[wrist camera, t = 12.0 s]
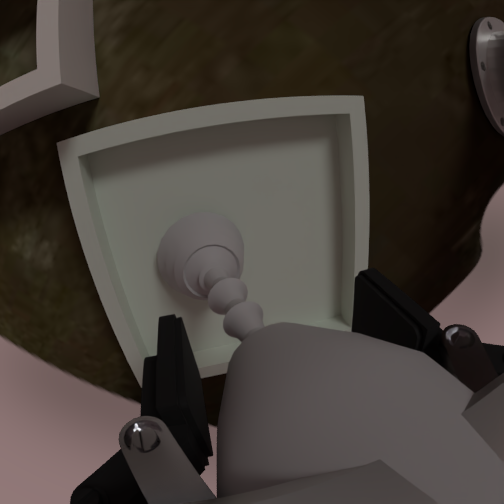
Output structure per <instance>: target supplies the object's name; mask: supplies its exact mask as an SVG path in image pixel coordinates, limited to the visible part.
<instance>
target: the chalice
mask: <svg viewBox="0 0 504 504" xmlns="http://www.w3.org/2000/svg"><path fill="white" fill-rule="evenodd" d="M157 261H158V268H159V271H160V273H161V276H162V278H163V279H164V281H165V282H166V283H167V284H168V285H169V286H170V287H171V288H172V289H174V290H176V291H178V292H180V293H181V294H185V295H187V296H189V297H192V298H193V299H198V300H208V305H209V307H210V309H211V310H212V311H213V312H215V313H217V314H220V315H225V317H224V320H223V329H224V332H225V333H226V334H227V335H228V336H231V337H233V338H237V339H238V340H239V341H241V342H242V343H241V344H240V345H239V346H238V347H237V349H236V350H235V351H234V352H233V355H232V357H231V359H230V361H229V364H228V369H227V375H226V380H225V386H224V391H223V397H222V402H221V408H220V413H219V418H218V426H217V498H220V497H226V496H231V495H236V494H241V493H245V492H250V491H254V490H259V489H263V488H267V487H271V486H275V485H279V484H282V483H286V482H289V481H293V480H296V479H299V478H303V477H308V476H314V475H319V474H325V473H330V472H335V471H340V470H345V469H349V468H354V467H358V466H362V465H366V464H369V463H371V462H374V461H377V460H379V459H381V460H382V461H383V462H384V463H386V464H387V465H388V466H390V467H391V468H392V469H393V470H395V471H396V472H397V473H399V474H400V475H401V476H403V477H404V478H405V479H407V480H408V481H409V482H411V483H412V484H413V485H415V486H416V487H417V488H419V489H420V490H421V491H423V492H424V493H426V494H427V495H428V496H430V497H431V498H433V499H434V500H435V501H436V502H438V503H439V504H504V463H503V462H502V461H501V459H500V458H499V457H498V456H497V455H496V454H495V452H494V451H493V450H492V449H491V448H490V447H489V445H488V444H487V443H486V442H485V441H484V440H483V439H482V437H481V436H480V435H479V434H478V433H477V432H476V431H475V429H474V428H473V427H472V426H471V425H470V424H469V423H468V422H467V420H466V419H465V418H464V417H463V416H462V415H461V413H462V412H463V411H465V408H466V406H467V404H468V402H469V401H470V399H471V397H472V395H473V394H474V392H473V391H472V390H470V389H469V388H468V387H467V386H465V385H464V384H463V383H462V382H460V381H459V380H458V379H457V378H455V377H454V376H453V375H452V374H450V373H449V372H448V371H447V370H445V369H444V368H443V367H441V366H440V365H439V364H438V363H436V362H435V361H434V360H433V359H431V358H430V357H429V356H427V355H426V354H425V353H423V352H420V351H417V350H413V349H410V348H406V347H403V346H400V345H396V344H393V343H389V342H386V341H383V340H379V339H376V338H373V337H369V336H366V335H363V334H360V333H354V332H347V331H341V330H334V329H328V328H321V327H315V326H309V325H303V324H297V323H288V322H280V323H275V324H271V325H267V326H264V324H263V321H262V320H263V310H262V308H261V307H260V305H259V304H257V303H255V302H250V301H246V299H247V294H248V290H247V286H246V285H245V283H244V282H243V281H241V280H240V277H241V275H242V272H243V264H244V243H243V239H242V236H241V233H240V232H239V230H238V229H237V227H236V226H235V224H234V223H233V222H231V221H230V220H228V219H227V218H226V217H224V216H223V215H219V214H215V213H212V212H198V213H193V214H190V215H188V216H185V217H182V218H180V219H179V220H178V221H177V222H175V223H174V224H173V225H172V226H170V227H169V229H168V230H167V231H166V233H165V234H164V236H163V237H162V239H161V241H160V245H159V248H158V252H157Z"/></svg>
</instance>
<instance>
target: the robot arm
mask: <svg viewBox="0 0 504 504" xmlns="http://www.w3.org/2000/svg"><path fill="white" fill-rule="evenodd" d="M469 49H470V63H471V70H472V75H473V80H474V84H475V87H476V91H477V94H478V97H479V100H480V103H481V105H482V108H483V110H484V112H485V114H486V116H487V118H488V119H489V121H490V123H491V124H492V126H493V127H494V128H495V129H496V131H497V132H498V133H500V134H501V135H502V136H504V23H503V22H502V21H500V20H499V19H497V18H494V17H486V18H480V19H479V20H477V21H476V22H475V24H474V26H473V28H472V31H471V34H470V44H469ZM439 327H440V323H439V322H438V321H437V320H435V319H434V318H433V317H432V316H431V315H430V314H429V313H427V312H426V311H425V310H424V309H423V308H422V307H420V306H419V305H418V304H417V303H416V302H415V301H413V300H412V299H411V298H410V297H409V296H408V295H406V294H405V293H404V292H403V291H402V290H400V289H399V288H398V287H397V286H396V285H394V284H393V283H392V282H391V281H390V280H388V279H387V278H386V277H385V276H383V275H382V274H381V273H380V272H379V271H377V270H376V269H375V268H370V269H366V270H362V271H360V272H359V273H358V276H356V277H355V282H354V301H353V317H352V330H351V332H354V333H360V334H363V335H366V336H369V337H373V338H376V339H379V340H383V341H386V342H389V343H393V344H396V345H400V346H403V347H406V348H410V349H413V350H417V351H420V352H423V353H425V354H426V355H427V356H429V357H430V358H431V359H433V360H434V361H435V362H436V363H438V364H439V365H440V366H441V367H443V368H444V369H445V370H447V371H448V372H449V373H450V374H452V375H453V376H454V377H455V378H457V379H458V380H459V381H460V382H462V383H463V384H464V385H465V386H467V387H468V388H469V389H470V390H472V391H473V392H474V394H473V395H472V397H471V399H470V401H469V402H468V404H467V406H466V408H465V411H463V412H462V413H461V415H462V416H463V417H464V418H465V419H466V420H467V422H468V423H469V424H470V425H471V426H472V427H473V428H474V429H475V431H476V432H477V433H478V434H479V435H480V436H481V437H482V439H483V440H484V441H485V442H486V443H487V444H488V445H489V447H490V448H491V449H492V450H493V451H494V452H495V454H496V455H497V456H498V457H499V458H500V459H501V461H502V462H503V463H504V346H501V345H493V344H486V343H482V342H481V341H480V339H479V337H478V335H477V334H476V332H475V331H474V330H472V329H471V328H469V327H467V326H464V325H458V324H454V325H450V326H448V327H446V328H445V329H444V330H442V329H441V328H439ZM119 444H120V447H121V449H120V450H119V451H118V452H117V453H116V454H115V455H113V456H112V457H111V458H110V459H109V460H108V461H107V462H106V463H105V464H103V465H102V466H101V467H100V468H99V469H97V470H96V471H95V472H94V473H93V474H92V475H91V476H89V477H88V478H87V479H86V480H85V481H83V482H82V483H81V484H80V485H79V486H78V487H77V488H76V489H75V490H74V491H73V494H72V496H71V501H70V504H439V503H438V502H436V501H435V500H434V499H433V498H431V497H430V496H428V495H427V494H426V493H424V492H423V491H421V490H420V489H419V488H417V487H416V486H415V485H413V484H412V483H411V482H409V481H408V480H407V479H405V478H404V477H403V476H401V475H400V474H399V473H397V472H396V471H395V470H393V469H392V468H391V467H390V466H388V465H387V464H386V463H384V462H383V461H382V460H381V459H379V460H377V461H374V462H371V463H369V464H366V465H362V466H358V467H354V468H349V469H345V470H340V471H335V472H330V473H325V474H319V475H314V476H308V477H303V478H299V479H296V480H293V481H289V482H286V483H282V484H279V485H275V486H271V487H267V488H263V489H259V490H254V491H250V492H245V493H241V494H236V495H231V496H226V497H220V498H216V496H215V495H214V494H213V493H212V491H211V490H210V489H209V487H208V486H207V485H206V483H205V482H204V481H203V479H202V478H201V477H200V475H201V474H202V472H203V471H204V470H205V466H207V465H209V462H208V457H209V456H213V451H212V445H211V439H210V433H209V427H208V421H207V415H206V409H205V402H204V396H203V389H202V382H201V376H200V372H199V369H198V366H197V363H196V360H195V357H194V354H193V351H192V348H191V345H190V342H189V339H188V336H187V332H186V329H185V326H184V323H183V319H182V317H178V318H176V316H175V314H171V315H166V316H161V317H159V321H158V339H157V355H156V356H150V357H145V359H144V365H143V379H142V396H141V417H138V418H134V419H133V420H131V421H129V422H128V423H127V424H126V425H125V426H124V427H123V428H122V430H121V432H120V434H119Z"/></svg>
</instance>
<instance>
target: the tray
mask: <svg viewBox="0 0 504 504" xmlns="http://www.w3.org/2000/svg"><path fill="white" fill-rule="evenodd" d="M57 148H58V153H59V159H60V164H61V168H62V173H63V178H64V182H65V186H66V191H67V195H68V199H69V203H70V207H71V210H72V214H73V218H74V221H75V225H76V228H77V232H78V235H79V238H80V242H81V245H82V248H83V251H84V254H85V257H86V260H87V263H88V266H89V269H90V272H91V275H92V277H93V280H94V283H95V286H96V288H97V291H98V294H99V296H100V299H101V301H102V304H103V306H104V309H105V311H106V314H107V316H108V318H109V321H110V323H111V326H112V328H113V330H114V332H115V335H116V337H117V339H118V341H119V344H120V346H121V348H122V350H123V352H124V354H125V356H126V359H127V361H128V363H129V365H130V367H131V369H132V371H133V373H134V375H135V377H136V379H137V381H138V382H139V384H140V386H141V388H142V379H143V365H144V359H145V357H150V356H156V355H157V339H158V321H159V317H161V316H166V315H171V314H175V316H176V318H178V317H182V319H183V323H184V326H185V329H186V332H187V336H188V339H189V342H190V345H191V348H192V351H193V354H194V357H195V360H196V363H197V366H198V369H199V372H200V376H201V378H205V377H210V376H215V375H220V374H224V373H227V369H228V364H229V361H230V359H231V357H232V355H233V352H234V351H235V350H236V349H237V347H238V346H239V345H240V344H241V343H242V342H241V341H239V340H238V339H237V338H233V337H231V336H228V335H227V334H226V333H225V332H224V329H223V320H224V317H225V315H220V314H217V313H215V312H213V311H212V310H211V309H210V307H209V305H208V300H198V299H193V298H192V297H189V296H187V295H185V294H181V293H180V292H178V291H176V290H174V289H172V288H171V287H170V286H169V285H168V284H167V283H166V282H165V281H164V279H163V278H162V276H161V273H160V271H159V268H158V261H157V252H158V248H159V245H160V241H161V239H162V237H163V236H164V234H165V233H166V231H167V230H168V229H169V227H170V226H172V225H173V224H174V223H175V222H177V221H178V220H179V219H180V218H182V217H185V216H188V215H190V214H193V213H198V212H212V213H215V214H219V215H223V216H224V217H226V218H227V219H228V220H230V221H231V222H233V223H234V224H235V226H236V227H237V229H238V230H239V232H240V233H241V236H242V239H243V243H244V264H243V272H242V275H241V277H240V280H241V281H243V282H244V283H245V285H246V286H247V290H248V294H247V299H246V301H250V302H255V303H257V304H259V305H260V307H261V308H262V310H263V320H262V321H263V324H264V326H267V325H271V324H275V323H280V322H288V323H297V324H303V325H309V326H315V327H321V328H328V329H334V330H341V331H347V332H351V330H352V317H353V301H354V282H355V277H356V276H358V273H359V272H360V271H362V270H366V269H368V250H369V168H368V146H367V131H366V118H365V107H364V97H363V96H302V97H284V98H270V99H258V100H248V101H239V102H231V103H223V104H216V105H209V106H203V107H197V108H191V109H185V110H179V111H174V112H169V113H164V114H159V115H154V116H150V117H145V118H141V119H137V120H133V121H128V122H125V123H121V124H117V125H113V126H109V127H106V128H102V129H99V130H95V131H92V132H88V133H85V134H82V135H79V136H76V137H73V138H69V139H66V140H63V141H61V142H58V143H57Z"/></svg>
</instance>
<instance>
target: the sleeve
mask: <svg viewBox="0 0 504 504" xmlns="http://www.w3.org/2000/svg"><path fill="white" fill-rule="evenodd" d="M36 49H37V69H36V70H34V71H32V72H29V73H27V74H25V75H23V76H21V77H19V78H17V79H14V80H12V81H10V82H8V83H6V84H5V85H3V86H1V87H0V135H2V134H4V133H6V132H8V131H10V130H13V129H15V128H17V127H19V126H22V125H24V124H26V123H29V122H31V121H33V120H36V119H38V118H41V117H43V116H46V115H49V114H51V113H54V112H57V111H59V110H62V109H65V108H68V107H71V106H74V105H77V104H80V103H83V102H86V101H89V100H92V99H96V98H99V88H98V80H97V70H96V59H95V46H94V29H93V0H38V1H37V24H36Z"/></svg>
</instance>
